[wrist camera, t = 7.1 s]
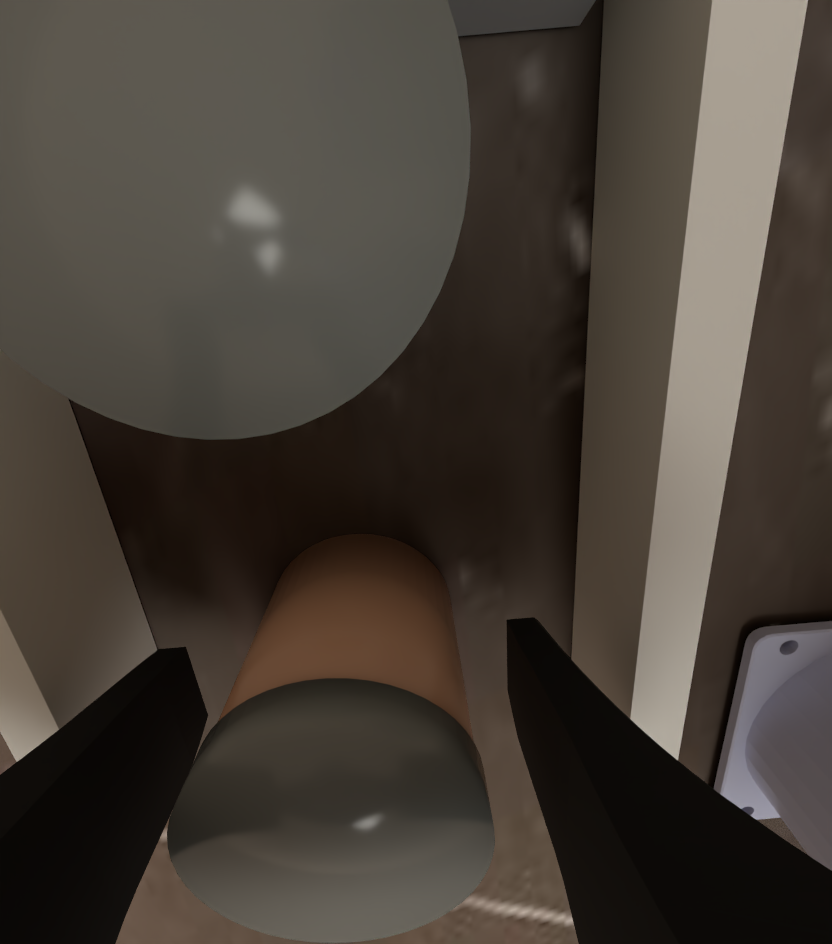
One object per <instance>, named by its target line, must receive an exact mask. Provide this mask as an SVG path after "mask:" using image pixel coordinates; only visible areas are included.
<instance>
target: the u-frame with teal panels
mask: <svg viewBox="0 0 832 944" xmlns="http://www.w3.org/2000/svg"><path fill="white" fill-rule="evenodd" d="M807 3H808V0H604V8H603V28H602V48H601V69H600V89H599V109H598V129H597V150H596V170H595V190H594V210H593V230H592V251H591V271H590V291H589V311H588V332H587V352H586V372H585V392H584V413H583V433H582V453H581V473H580V493H579V514H578V534H577V554H576V574H575V595H574V615H573V635H572V655H571V660H572V661H573V662H574V663H575V664H576V665H577V666H578V667H579V668H580V669H581V670H582V672H583V673H584V674H585V675H586V676H587V677H588V678H589V679H590V680H591V681H592V682H593V683H594V684H595V685H596V686H597V687H598V688H599V689H600V690H601V691H602V692H603V693H604V694H605V695H606V696H607V697H608V698H609V699H610V700H611V701H612V702H613V703H614V704H615V705H616V706H617V707H618V708H619V709H620V710H621V711H622V712H623V713H624V714H625V715H627V716H628V717H629V718H630V719H631V720H632V721H633V722H634V723H635V724H636V725H637V726H638V727H639V728H641V729H642V730H643V731H644V732H645V733H646V734H647V735H648V736H649V737H651V738H652V739H653V740H654V741H655V742H656V743H657V744H659V745H660V746H661V747H662V748H663V749H664V750H666V751H667V752H668V753H669V754H670V755H672V756H673V757H674V758H675V759H677V760H678V756H679V751H680V745H681V739H682V733H683V727H684V721H685V716H686V710H687V704H688V698H689V692H690V686H691V680H692V675H693V669H694V663H695V657H696V651H697V645H698V640H699V634H700V628H701V622H702V616H703V610H704V605H705V599H706V593H707V587H708V581H709V575H710V570H711V564H712V558H713V552H714V546H715V540H716V535H717V529H718V523H719V517H720V511H721V505H722V500H723V494H724V488H725V482H726V476H727V470H728V464H729V459H730V453H731V447H732V441H733V435H734V429H735V424H736V418H737V412H738V406H739V400H740V394H741V389H742V383H743V377H744V371H745V365H746V359H747V354H748V348H749V342H750V336H751V330H752V324H753V319H754V313H755V307H756V301H757V295H758V289H759V284H760V278H761V272H762V266H763V260H764V254H765V248H766V243H767V237H768V231H769V225H770V219H771V213H772V208H773V202H774V196H775V190H776V184H777V178H778V173H779V167H780V161H781V155H782V149H783V143H784V138H785V132H786V126H787V120H788V114H789V108H790V103H791V97H792V91H793V85H794V79H795V73H796V68H797V62H798V56H799V50H800V44H801V38H802V32H803V27H804V21H805V15H806V9H807ZM156 651H157V647H156V644H155V642H154V639H153V636H152V633H151V630H150V627H149V625H148V622H147V619H146V616H145V613H144V611H143V608H142V605H141V602H140V599H139V596H138V594H137V591H136V588H135V585H134V582H133V580H132V577H131V574H130V571H129V568H128V565H127V563H126V560H125V557H124V554H123V551H122V549H121V546H120V543H119V540H118V537H117V534H116V532H115V529H114V526H113V523H112V520H111V518H110V515H109V512H108V509H107V506H106V503H105V501H104V498H103V495H102V492H101V489H100V486H99V484H98V481H97V478H96V475H95V472H94V470H93V467H92V464H91V461H90V458H89V455H88V453H87V450H86V447H85V444H84V441H83V439H82V436H81V433H80V430H79V427H78V424H77V422H76V419H75V416H74V413H73V410H72V408H71V405H70V402H69V399H68V398H67V397H65V396H64V395H62V394H60V393H59V392H57V391H55V390H54V389H52V388H50V387H49V386H47V385H45V384H44V383H42V382H41V381H40V380H38V379H37V378H35V377H34V376H33V375H31V374H30V373H29V372H27V371H26V370H25V369H23V368H22V367H21V366H19V365H18V364H17V363H15V362H14V361H13V360H11V359H10V358H9V357H8V356H7V355H6V354H5V353H4V352H2V351H1V350H0V732H1V734H2V736H3V738H4V740H5V741H6V743H7V745H8V747H9V749H10V750H11V752H12V754H13V756H14V758H15V760H16V761H17V762H18V761H19V760H20V759H22V758H23V757H24V756H26V755H27V754H28V753H29V752H31V751H32V750H33V749H35V748H36V747H37V746H38V745H40V744H41V743H42V742H44V741H45V740H46V739H48V738H49V737H50V736H51V735H53V734H54V733H55V732H57V731H58V730H59V729H60V728H62V727H63V726H64V725H65V724H67V723H68V722H69V721H70V720H72V719H73V718H74V717H75V716H76V715H78V714H79V713H80V712H81V711H83V710H84V709H85V708H86V707H87V706H89V705H90V704H91V703H92V702H94V701H95V700H96V699H97V698H98V697H100V696H101V695H102V694H103V693H105V692H106V691H107V690H108V689H109V688H111V687H112V686H113V685H114V684H115V683H117V682H118V681H119V680H120V679H122V678H123V677H124V676H125V675H126V674H128V673H129V672H130V671H131V670H133V669H134V668H135V667H136V666H138V665H139V664H140V663H141V662H143V661H144V660H145V659H146V658H148V657H149V656H150V655H152V654H153V653H154V652H156Z"/></svg>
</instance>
